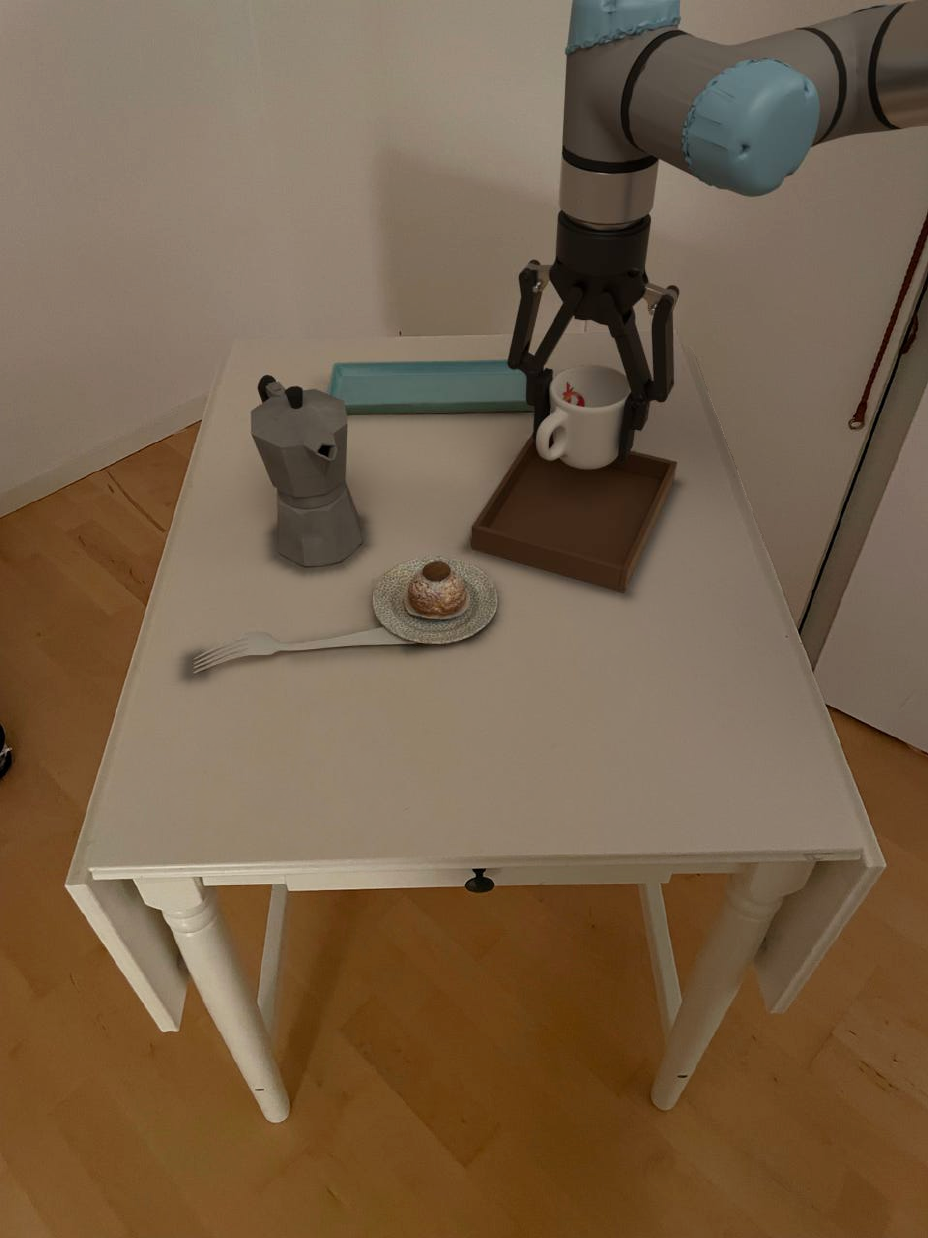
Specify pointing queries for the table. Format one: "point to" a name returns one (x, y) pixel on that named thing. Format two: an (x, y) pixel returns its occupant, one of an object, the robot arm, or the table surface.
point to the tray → (575, 515)
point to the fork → (293, 644)
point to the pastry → (434, 600)
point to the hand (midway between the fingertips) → (582, 442)
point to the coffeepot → (307, 472)
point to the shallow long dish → (429, 387)
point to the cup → (584, 416)
